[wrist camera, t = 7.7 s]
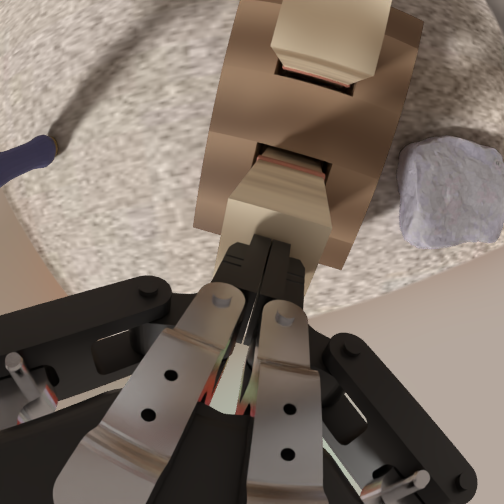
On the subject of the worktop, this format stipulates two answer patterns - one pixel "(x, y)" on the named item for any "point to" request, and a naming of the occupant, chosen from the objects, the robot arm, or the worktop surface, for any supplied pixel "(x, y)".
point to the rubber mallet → (27, 157)
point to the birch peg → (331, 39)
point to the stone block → (450, 192)
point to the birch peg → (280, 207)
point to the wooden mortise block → (304, 121)
